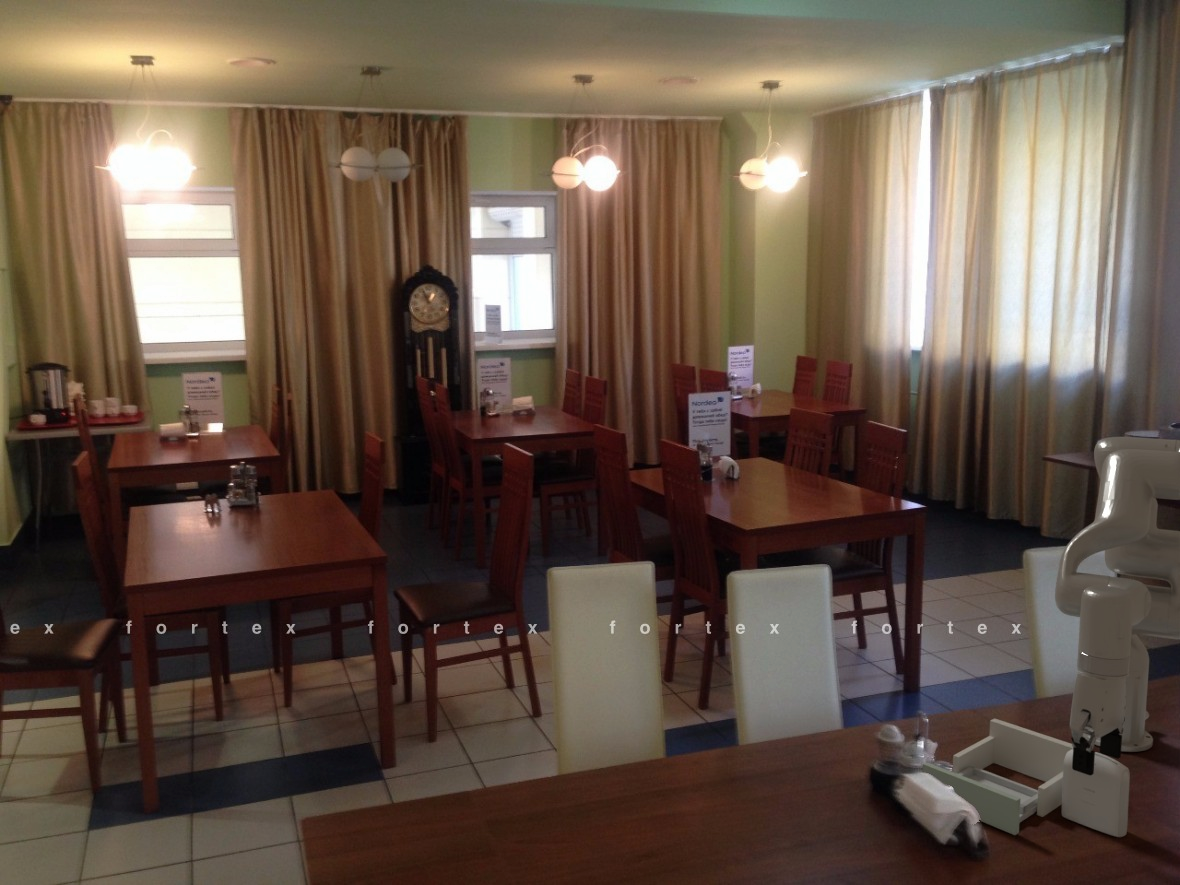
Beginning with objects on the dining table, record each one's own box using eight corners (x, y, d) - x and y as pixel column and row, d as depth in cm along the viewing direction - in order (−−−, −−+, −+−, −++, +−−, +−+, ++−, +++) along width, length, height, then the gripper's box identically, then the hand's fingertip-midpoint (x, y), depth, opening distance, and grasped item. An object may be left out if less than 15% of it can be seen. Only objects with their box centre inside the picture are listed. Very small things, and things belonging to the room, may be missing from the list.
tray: (963, 773, 188) (964, 741, 187) (1055, 808, 175) (1057, 774, 174) (921, 796, 180) (922, 764, 179) (1015, 835, 166) (1016, 800, 166)
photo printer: (1056, 817, 173) (1060, 747, 171) (1068, 808, 175) (1072, 740, 174) (1119, 841, 165) (1124, 769, 163) (1131, 832, 167) (1135, 761, 166)
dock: (992, 758, 194) (994, 718, 193) (1081, 790, 181) (1084, 747, 180) (952, 781, 185) (953, 739, 184) (1042, 817, 173) (1045, 772, 171)
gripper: (1103, 646, 174) (1097, 742, 176) (1054, 668, 163) (1048, 771, 165) (1150, 657, 168) (1143, 757, 171) (1102, 681, 157) (1095, 787, 160)
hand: (1096, 763), depth 168 cm, fingers open, 9 cm apart
